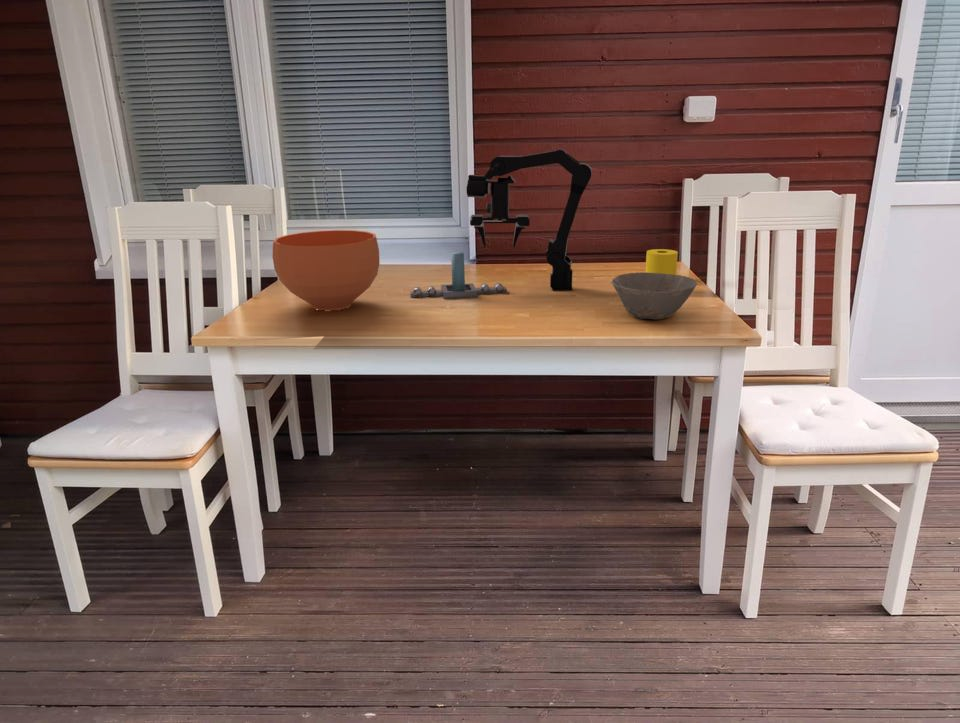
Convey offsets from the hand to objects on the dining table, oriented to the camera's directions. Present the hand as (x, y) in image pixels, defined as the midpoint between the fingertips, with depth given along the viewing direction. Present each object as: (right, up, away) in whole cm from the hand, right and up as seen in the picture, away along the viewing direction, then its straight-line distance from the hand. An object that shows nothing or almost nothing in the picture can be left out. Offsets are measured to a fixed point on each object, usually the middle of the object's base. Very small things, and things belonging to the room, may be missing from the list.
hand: (499, 247), depth 210 cm
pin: (-13, -15, -3) cm, 20 cm away
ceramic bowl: (+41, -25, -31) cm, 57 cm away
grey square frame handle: (-13, -15, -3) cm, 20 cm away
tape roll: (+55, -9, +11) cm, 57 cm away
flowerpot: (-50, -20, -15) cm, 56 cm away
